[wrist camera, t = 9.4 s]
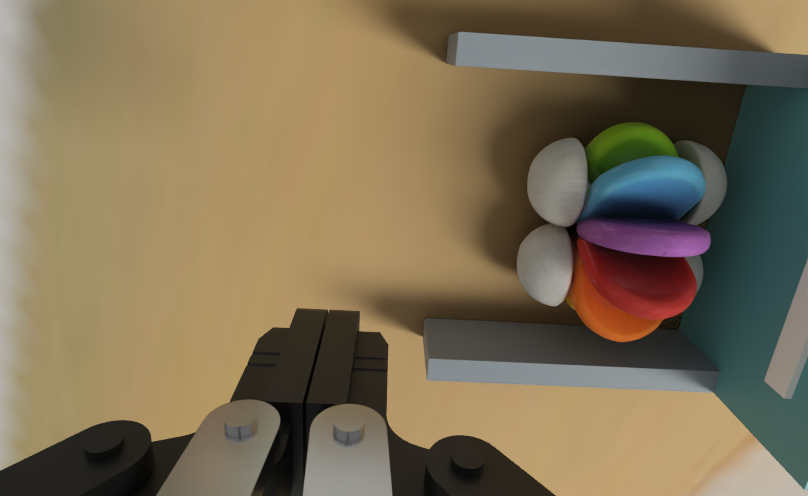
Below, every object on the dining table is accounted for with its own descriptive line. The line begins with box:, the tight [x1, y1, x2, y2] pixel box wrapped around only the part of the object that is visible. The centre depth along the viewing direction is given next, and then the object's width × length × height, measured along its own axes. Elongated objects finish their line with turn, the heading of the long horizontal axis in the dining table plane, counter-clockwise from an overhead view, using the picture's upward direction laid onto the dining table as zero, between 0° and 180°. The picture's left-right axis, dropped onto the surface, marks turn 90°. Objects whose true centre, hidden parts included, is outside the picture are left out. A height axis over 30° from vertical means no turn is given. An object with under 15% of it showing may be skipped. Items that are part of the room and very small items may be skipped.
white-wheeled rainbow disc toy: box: [517, 122, 727, 342], centre depth 23 cm, size 8×10×7 cm
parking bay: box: [423, 32, 808, 490], centre depth 22 cm, size 15×15×10 cm
